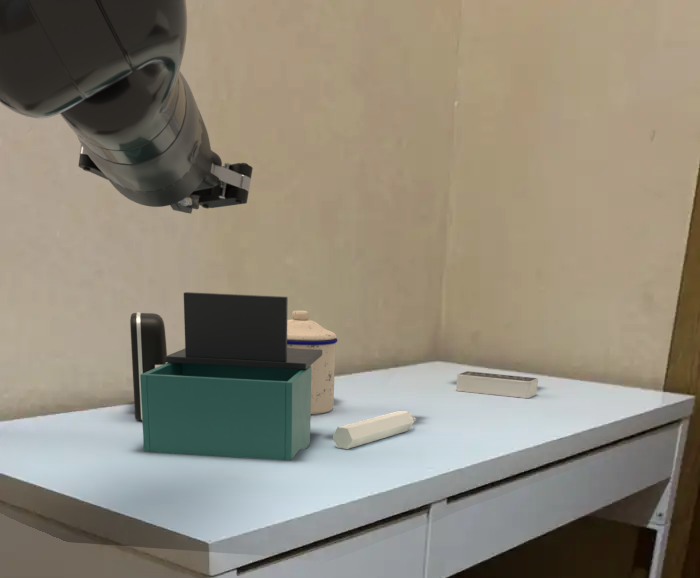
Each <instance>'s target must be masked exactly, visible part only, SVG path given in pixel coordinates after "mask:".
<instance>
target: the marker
mask: <svg viewBox="0 0 700 578" xmlns="http://www.w3.org/2000/svg"><path fill="white" fill-rule="evenodd" d="M416 420H417V417H414V416H412V414H411V412H410V411H405V410H397V411H394V412H389V413H386V414H382V415H378V416H374V417H371V418H367V419H363V420H358V421H356V422H351V423H347V424H343V425H340V426H337V427H336V428H335V430H334V433H333V434H332V440H333V442H334V444H335V447H336V449H337V448H338V449H344V450H348V449H352V448H356V447H359V446H362V445H366V444H370V443H373V442H376V441H379V440H382V439H385V438H389V437H392V436H396V435H399V434H402V433H406V432H409V431H410V429H411V427H412V426H413V424H414V423H415V421H416Z"/></svg>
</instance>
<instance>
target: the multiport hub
mask: <svg viewBox="0 0 700 578" xmlns="http://www.w3.org/2000/svg"><path fill="white" fill-rule="evenodd" d="M538 384H539V378H538V377H530V376H518V375H510V374H501V373H500V374H499V373H490V372H479V371H470V370H469V371H464V372H461V373H458V374H457V375H456V386H455V391H457V392H465V393H475V394H484V395H492V396H502V397H511V398H522V399H530V398H533V397H534V396H535V397H536V396H537V395H538V394H537V393H538Z"/></svg>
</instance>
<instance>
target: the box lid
mask: <svg viewBox="0 0 700 578" xmlns="http://www.w3.org/2000/svg"><path fill="white" fill-rule="evenodd" d="M288 299H289V298H288V296H278V295H277V296H276V295H258V294H257V295H255V294H236V293H235V294H234V293H211V292H191V291H190V292H189V291H187V292H183V315H184V316H183V322H184V323H183V324H184V348H182V349H180V350H177V351H175V352H172V353H169V354H167V356H165V361H166V363H187V364H206V365H225V366H244V367H263V368H283V369H302V370H306V369H307V368H308V367H309V366H310V365H311V364H313V363H314V362H315V361H316V360H317V359H318V358H320V357H321V356H322V350H316V349H296V348H287V320H288Z"/></svg>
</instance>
